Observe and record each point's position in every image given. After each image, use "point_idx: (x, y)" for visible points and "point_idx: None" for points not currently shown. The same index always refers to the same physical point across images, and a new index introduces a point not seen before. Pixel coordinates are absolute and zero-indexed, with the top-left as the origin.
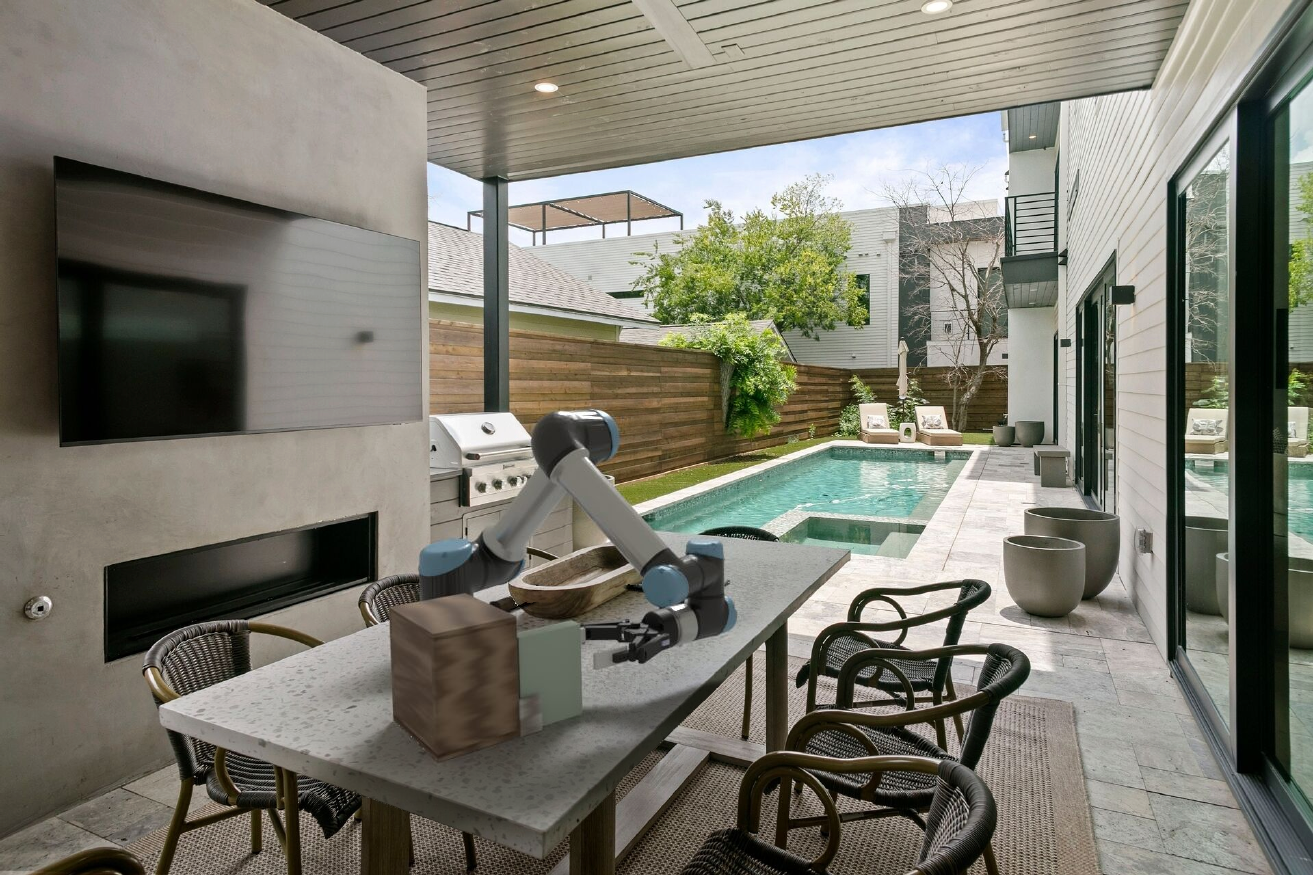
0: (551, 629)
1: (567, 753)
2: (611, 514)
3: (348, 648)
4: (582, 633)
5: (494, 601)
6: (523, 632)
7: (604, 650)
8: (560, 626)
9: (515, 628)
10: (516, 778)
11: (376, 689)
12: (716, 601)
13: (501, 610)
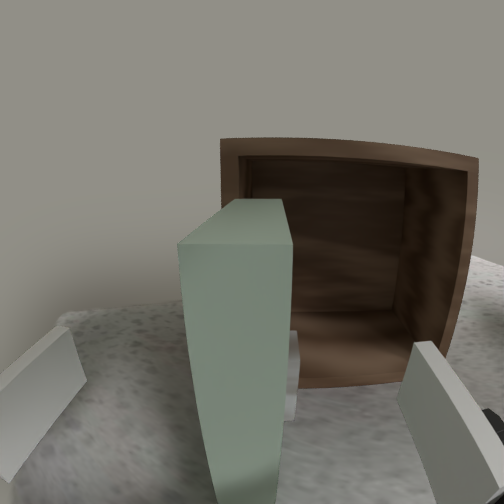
0: (228, 213)
1: (112, 392)
2: None
3: None
4: (472, 489)
5: None
6: (270, 202)
7: (36, 355)
8: (234, 222)
9: (221, 167)
10: (134, 336)
11: (492, 313)
12: None
13: (293, 138)
